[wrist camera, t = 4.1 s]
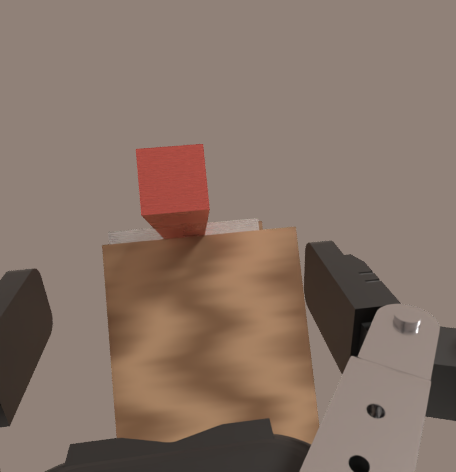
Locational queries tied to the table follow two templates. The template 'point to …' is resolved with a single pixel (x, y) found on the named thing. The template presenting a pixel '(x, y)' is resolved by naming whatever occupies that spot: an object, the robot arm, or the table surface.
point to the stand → (209, 335)
